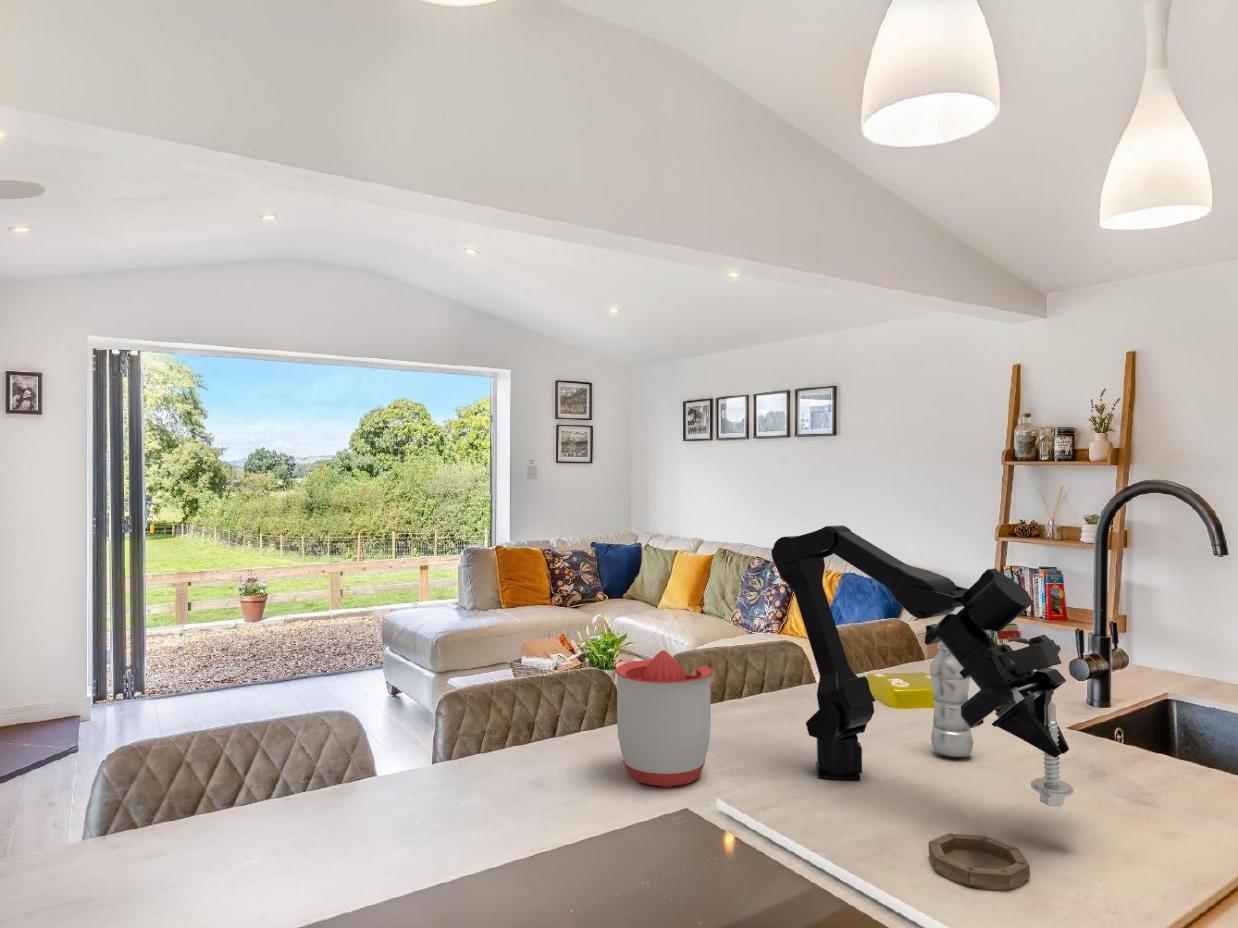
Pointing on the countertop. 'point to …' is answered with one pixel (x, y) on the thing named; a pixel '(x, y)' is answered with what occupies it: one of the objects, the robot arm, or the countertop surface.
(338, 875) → the countertop surface
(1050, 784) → the screw
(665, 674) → the citrus juicer
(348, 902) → the countertop surface
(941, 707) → the plastic bottle
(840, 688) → the robot arm
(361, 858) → the countertop surface
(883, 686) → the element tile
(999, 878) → the brown wooden tray
